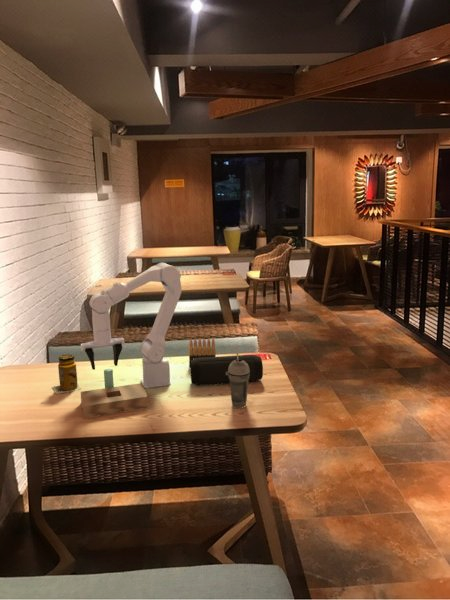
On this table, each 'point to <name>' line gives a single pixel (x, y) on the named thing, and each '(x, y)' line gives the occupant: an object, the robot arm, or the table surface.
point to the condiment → (67, 375)
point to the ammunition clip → (201, 349)
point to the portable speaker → (222, 369)
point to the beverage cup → (238, 381)
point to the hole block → (113, 400)
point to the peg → (108, 378)
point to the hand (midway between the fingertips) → (104, 366)
